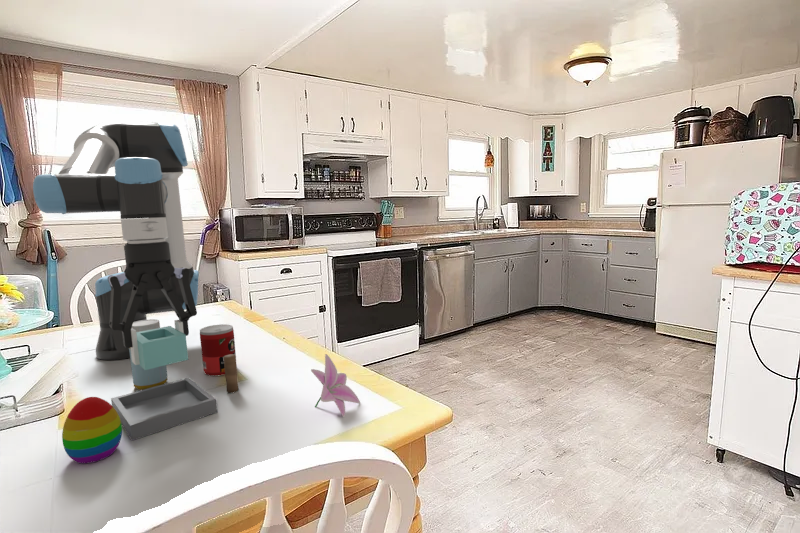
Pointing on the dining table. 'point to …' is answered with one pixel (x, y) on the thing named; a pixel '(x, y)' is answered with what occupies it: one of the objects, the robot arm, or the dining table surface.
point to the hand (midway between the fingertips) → (159, 357)
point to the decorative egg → (91, 430)
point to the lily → (334, 386)
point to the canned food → (216, 347)
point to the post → (231, 373)
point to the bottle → (150, 376)
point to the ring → (161, 347)
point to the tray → (163, 407)
